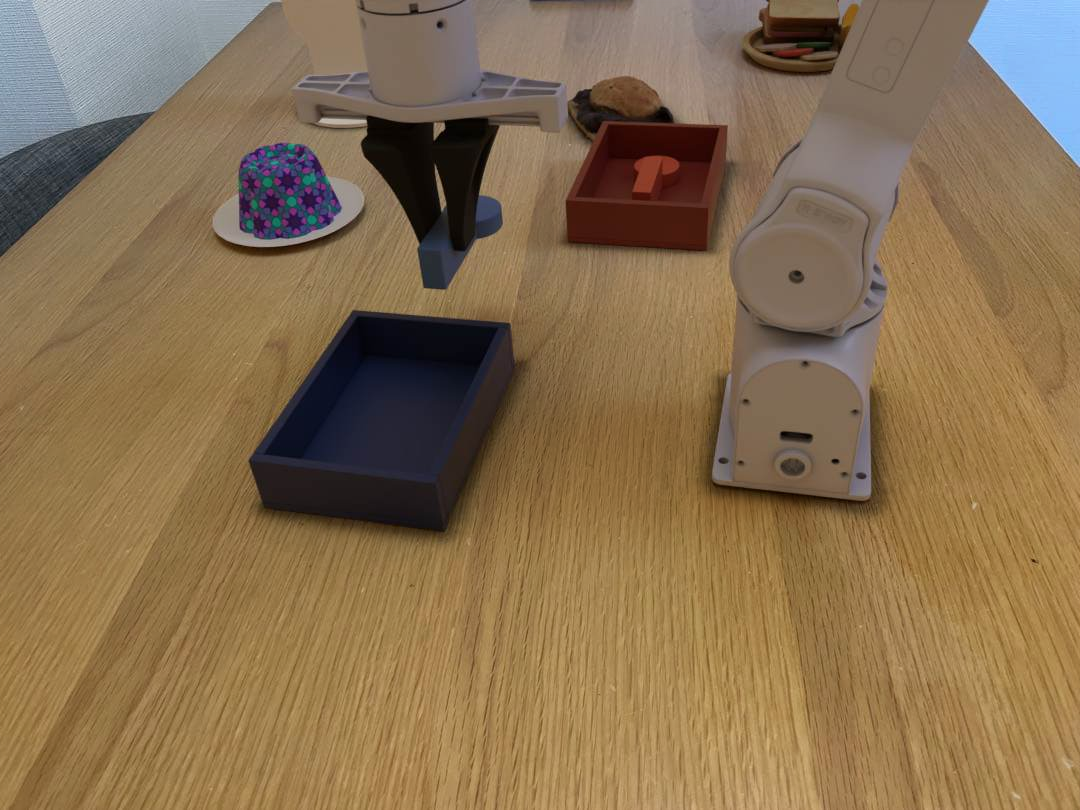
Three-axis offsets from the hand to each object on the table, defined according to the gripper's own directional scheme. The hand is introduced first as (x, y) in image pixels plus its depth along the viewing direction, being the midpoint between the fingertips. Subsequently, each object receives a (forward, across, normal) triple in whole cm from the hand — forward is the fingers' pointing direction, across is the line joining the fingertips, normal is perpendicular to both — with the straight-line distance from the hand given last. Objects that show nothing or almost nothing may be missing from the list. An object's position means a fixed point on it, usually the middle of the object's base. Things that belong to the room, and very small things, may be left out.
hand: (448, 241), depth 57 cm
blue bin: (+8, +2, +8) cm, 11 cm away
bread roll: (+9, -3, -38) cm, 39 cm away
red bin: (+8, -8, -22) cm, 25 cm away
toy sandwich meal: (+9, -18, -57) cm, 60 cm away
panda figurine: (+9, +23, -39) cm, 46 cm away
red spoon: (+8, -8, -23) cm, 25 cm away
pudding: (+9, +20, -16) cm, 27 cm away
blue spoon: (+1, 0, -2) cm, 2 cm away
